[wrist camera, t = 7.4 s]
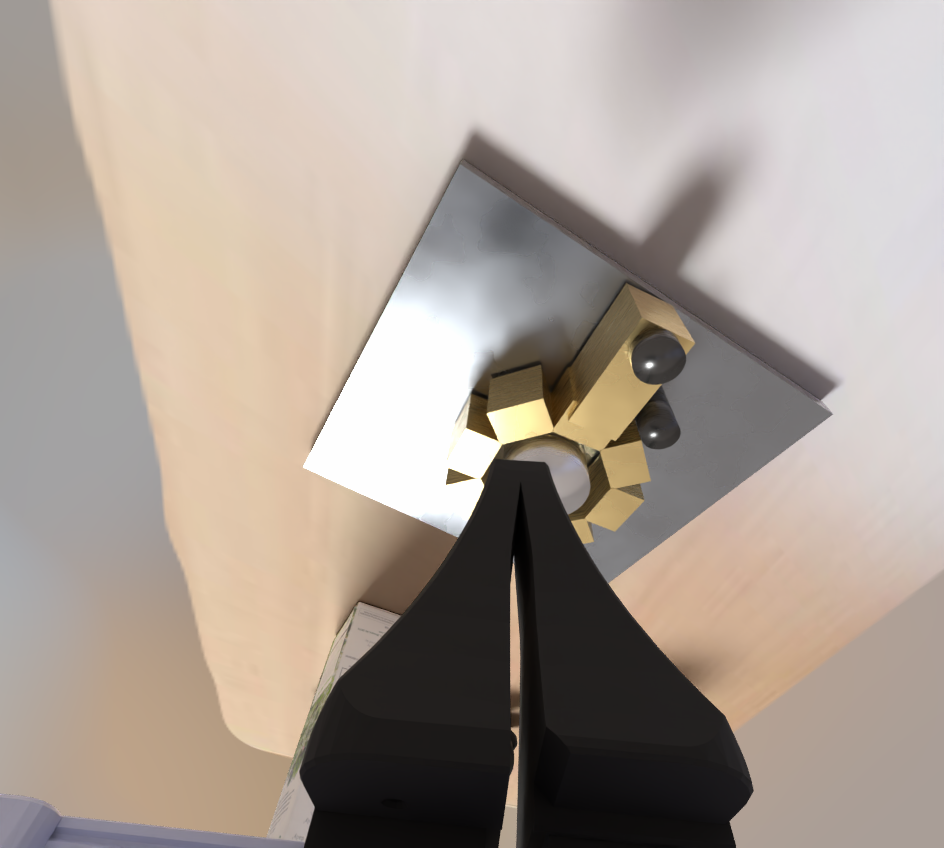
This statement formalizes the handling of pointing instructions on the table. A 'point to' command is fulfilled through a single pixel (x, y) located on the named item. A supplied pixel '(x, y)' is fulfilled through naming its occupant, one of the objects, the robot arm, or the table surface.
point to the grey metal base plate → (554, 348)
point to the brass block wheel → (580, 410)
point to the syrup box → (344, 653)
